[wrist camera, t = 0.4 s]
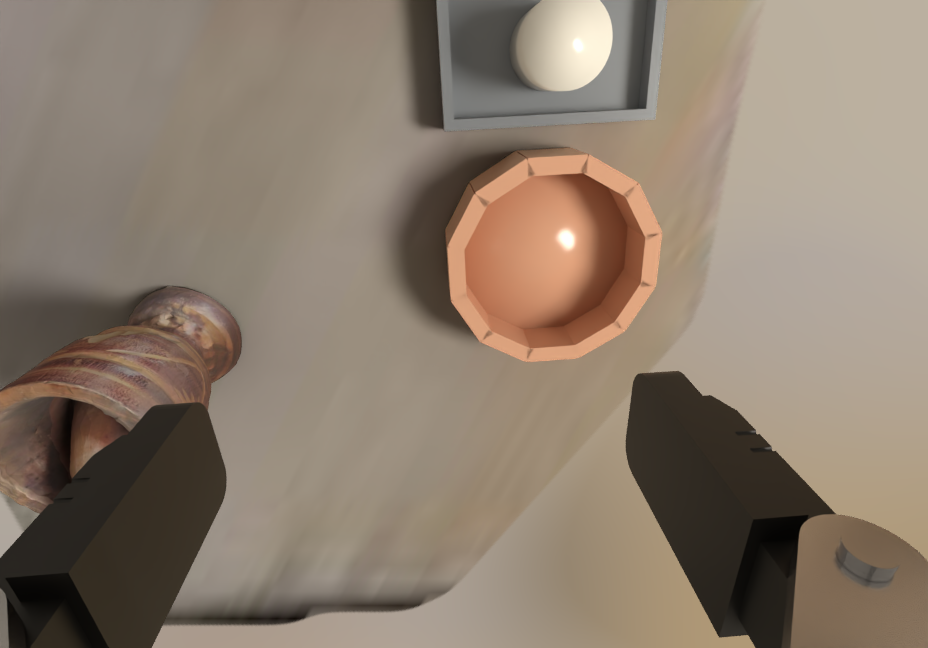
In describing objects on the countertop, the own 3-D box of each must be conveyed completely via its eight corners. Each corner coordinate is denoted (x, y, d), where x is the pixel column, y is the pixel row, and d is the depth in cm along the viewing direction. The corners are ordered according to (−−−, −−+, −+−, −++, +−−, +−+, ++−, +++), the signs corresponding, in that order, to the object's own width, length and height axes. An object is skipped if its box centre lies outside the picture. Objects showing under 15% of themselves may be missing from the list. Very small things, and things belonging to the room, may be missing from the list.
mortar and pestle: (310, 367, 37) (199, 628, 19) (235, 434, 39) (69, 728, 21) (175, 255, 33) (-131, 452, 15) (99, 336, 35) (-254, 597, 17)
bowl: (440, 154, 31) (441, 162, 28) (644, 143, 32) (672, 149, 28) (452, 340, 37) (455, 367, 33) (626, 327, 37) (647, 353, 34)
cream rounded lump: (509, 5, 28) (523, -10, 24) (587, 2, 28) (615, -15, 24) (509, 93, 30) (523, 93, 25) (583, 89, 30) (609, 88, 26)
